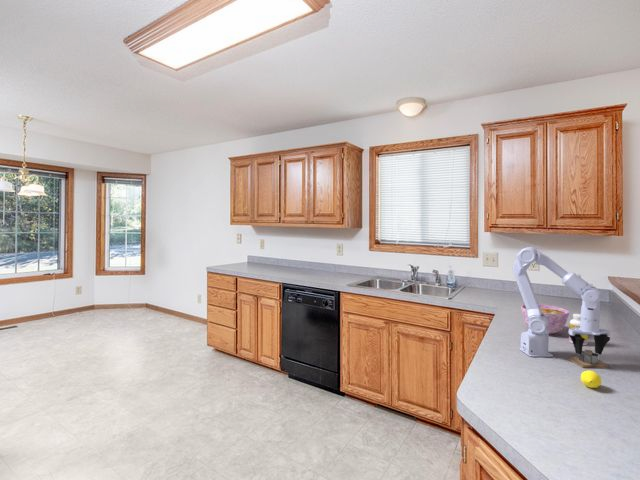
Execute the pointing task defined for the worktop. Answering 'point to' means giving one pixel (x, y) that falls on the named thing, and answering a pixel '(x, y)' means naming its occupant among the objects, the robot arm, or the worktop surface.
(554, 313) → the bowl of food
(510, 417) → the worktop surface
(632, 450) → the worktop surface
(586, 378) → the lemon
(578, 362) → the post board
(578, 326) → the supplement bottle
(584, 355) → the collar ring
